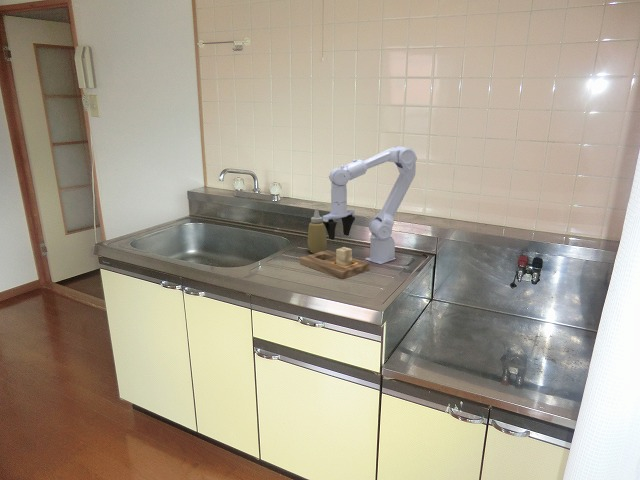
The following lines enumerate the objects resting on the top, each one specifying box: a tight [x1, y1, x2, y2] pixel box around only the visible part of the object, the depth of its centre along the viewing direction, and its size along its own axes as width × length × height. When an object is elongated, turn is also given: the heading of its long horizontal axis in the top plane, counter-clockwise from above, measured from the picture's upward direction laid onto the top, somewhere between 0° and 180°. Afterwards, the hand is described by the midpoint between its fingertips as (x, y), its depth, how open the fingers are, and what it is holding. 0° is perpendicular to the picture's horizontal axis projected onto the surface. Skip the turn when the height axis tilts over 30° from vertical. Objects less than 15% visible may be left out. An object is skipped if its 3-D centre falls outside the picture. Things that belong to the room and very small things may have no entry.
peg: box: [335, 246, 353, 267], centre depth 172 cm, size 4×4×8 cm
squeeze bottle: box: [306, 208, 328, 254], centre depth 192 cm, size 8×8×18 cm
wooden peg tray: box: [299, 249, 371, 280], centre depth 176 cm, size 14×23×3 cm, turn 42°
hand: (339, 237), depth 177 cm, fingers open, 7 cm apart
